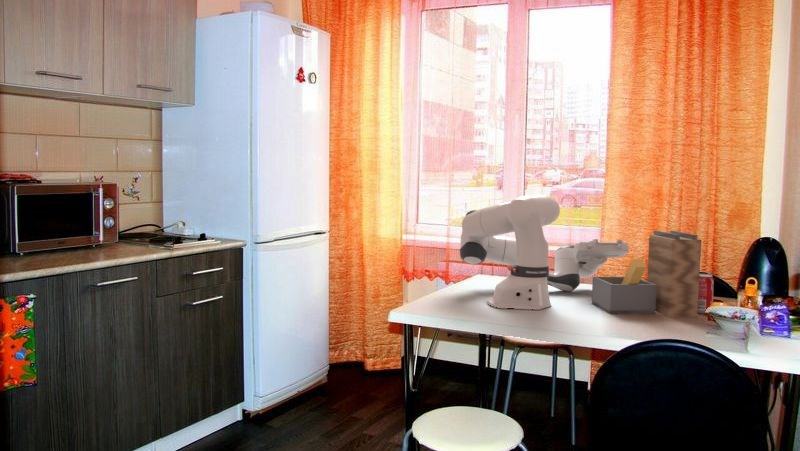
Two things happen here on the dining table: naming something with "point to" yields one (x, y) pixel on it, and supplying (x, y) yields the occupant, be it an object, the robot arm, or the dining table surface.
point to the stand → (675, 272)
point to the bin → (623, 296)
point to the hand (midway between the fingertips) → (608, 241)
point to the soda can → (705, 292)
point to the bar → (634, 272)
